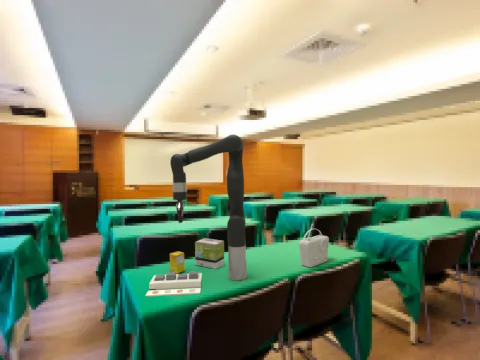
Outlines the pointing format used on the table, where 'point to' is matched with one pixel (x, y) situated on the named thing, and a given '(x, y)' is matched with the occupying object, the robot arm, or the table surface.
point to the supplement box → (177, 262)
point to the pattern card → (173, 292)
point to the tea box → (209, 253)
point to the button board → (176, 283)
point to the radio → (313, 249)
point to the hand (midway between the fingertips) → (180, 222)
